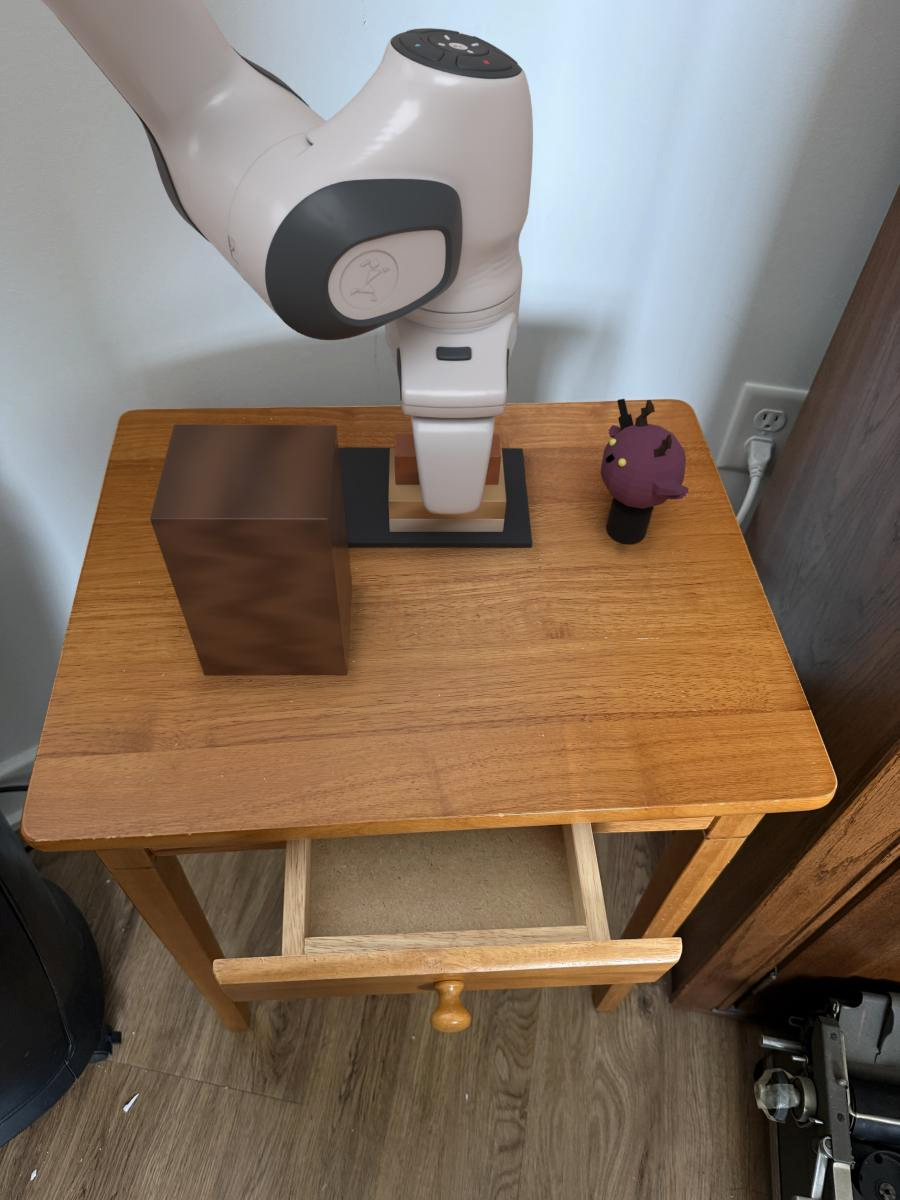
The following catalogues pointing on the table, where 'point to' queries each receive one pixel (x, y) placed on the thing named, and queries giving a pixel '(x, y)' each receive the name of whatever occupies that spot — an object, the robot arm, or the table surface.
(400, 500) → the stepped wooden block
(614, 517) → the figurine
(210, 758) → the table surface
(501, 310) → the robot arm
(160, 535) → the riser
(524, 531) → the mat
